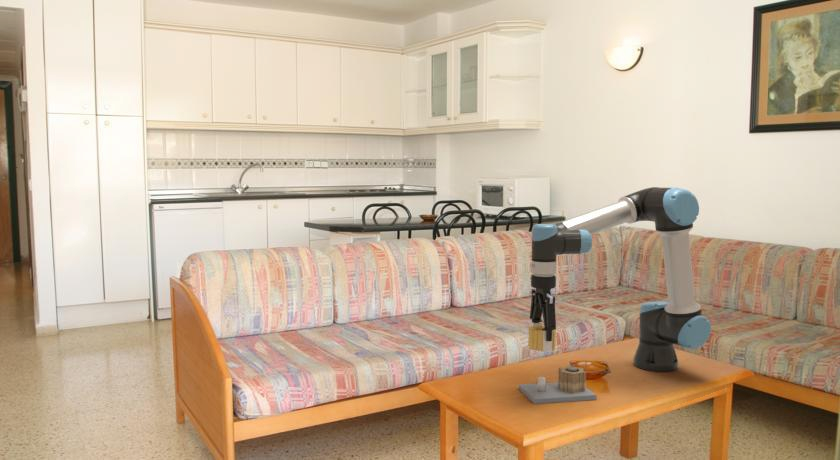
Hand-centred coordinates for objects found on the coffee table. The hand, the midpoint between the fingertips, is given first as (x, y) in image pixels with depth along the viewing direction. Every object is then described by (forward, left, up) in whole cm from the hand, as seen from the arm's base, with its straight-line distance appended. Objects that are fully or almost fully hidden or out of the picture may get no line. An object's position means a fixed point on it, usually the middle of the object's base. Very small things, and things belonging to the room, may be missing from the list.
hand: (541, 347), depth 212 cm
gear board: (-5, 0, -15) cm, 16 cm away
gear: (-10, 0, -14) cm, 17 cm away
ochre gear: (0, 0, 0) cm, 0 cm away
